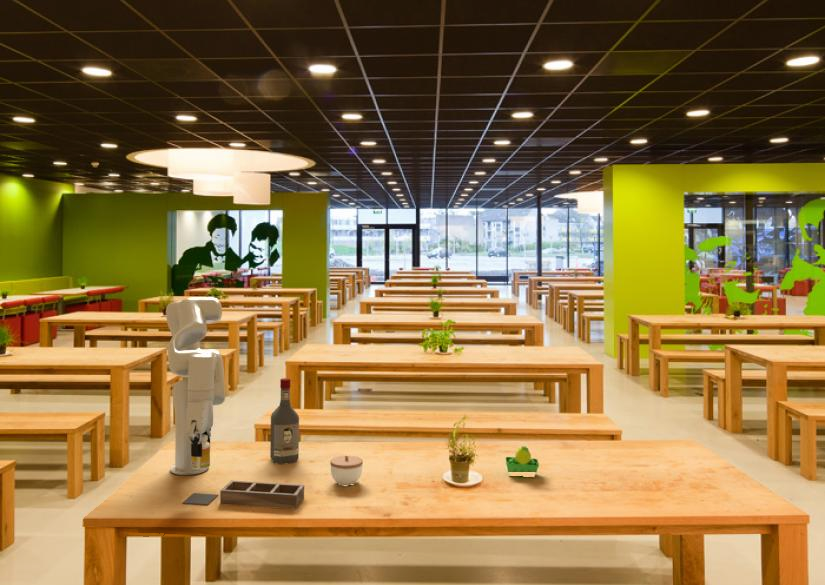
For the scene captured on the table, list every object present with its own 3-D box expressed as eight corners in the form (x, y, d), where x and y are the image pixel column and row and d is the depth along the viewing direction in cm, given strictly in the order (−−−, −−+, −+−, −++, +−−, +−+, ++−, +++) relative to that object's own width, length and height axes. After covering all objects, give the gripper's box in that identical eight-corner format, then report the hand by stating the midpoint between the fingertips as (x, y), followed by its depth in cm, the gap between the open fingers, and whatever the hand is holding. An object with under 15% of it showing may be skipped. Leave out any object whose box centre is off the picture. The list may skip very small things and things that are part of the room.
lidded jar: (357, 490, 219) (357, 461, 218) (325, 487, 221) (326, 458, 220) (365, 479, 229) (366, 452, 229) (335, 476, 232) (336, 449, 231)
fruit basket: (536, 472, 241) (538, 441, 240) (539, 480, 232) (540, 448, 232) (504, 470, 242) (505, 439, 242) (505, 478, 234) (506, 446, 233)
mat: (193, 494, 212) (193, 493, 212) (218, 495, 211) (218, 494, 211) (182, 503, 204) (182, 502, 204) (207, 505, 203) (207, 504, 203)
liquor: (269, 457, 250) (270, 377, 248) (293, 455, 254) (294, 376, 252) (274, 465, 242) (275, 382, 240) (299, 462, 246) (301, 380, 244)
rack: (231, 493, 213) (231, 480, 213) (304, 498, 211) (304, 484, 211) (220, 504, 204) (220, 490, 204) (296, 509, 202) (296, 495, 202)
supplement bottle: (211, 464, 209) (212, 433, 209) (207, 470, 204) (207, 438, 204) (194, 464, 209) (194, 433, 209) (189, 470, 204) (189, 438, 203)
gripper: (200, 388, 214) (200, 444, 215) (176, 400, 197) (176, 461, 198) (223, 389, 213) (223, 446, 215) (201, 401, 196) (201, 462, 198)
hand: (200, 452), depth 206 cm, fingers closed on supplement bottle, 5 cm apart
